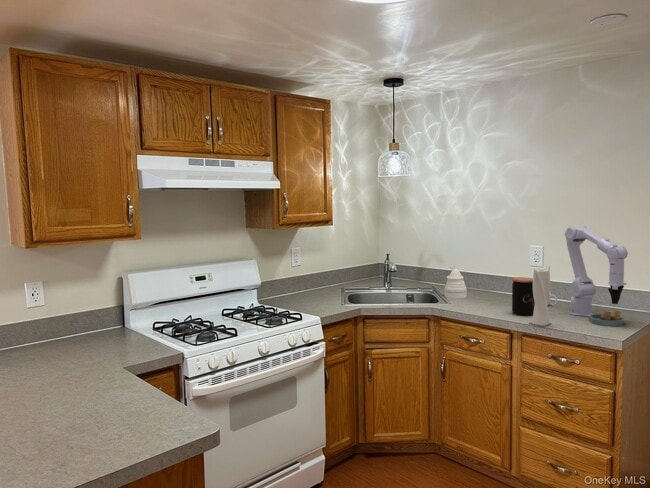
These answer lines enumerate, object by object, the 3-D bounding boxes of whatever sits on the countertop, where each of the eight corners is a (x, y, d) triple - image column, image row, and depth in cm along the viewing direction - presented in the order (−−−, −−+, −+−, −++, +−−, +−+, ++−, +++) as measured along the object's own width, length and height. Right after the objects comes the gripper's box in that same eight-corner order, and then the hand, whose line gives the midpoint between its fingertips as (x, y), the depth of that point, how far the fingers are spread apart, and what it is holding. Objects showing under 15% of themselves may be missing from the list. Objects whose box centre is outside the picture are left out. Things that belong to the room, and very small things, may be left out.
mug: (531, 305, 273) (531, 291, 273) (537, 302, 279) (537, 288, 279) (554, 308, 265) (554, 293, 264) (560, 305, 271) (560, 291, 270)
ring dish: (587, 323, 232) (587, 318, 232) (591, 317, 244) (591, 312, 244) (622, 327, 224) (622, 322, 224) (624, 320, 236) (624, 315, 236)
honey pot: (441, 297, 301) (441, 267, 299) (449, 293, 311) (449, 264, 310) (462, 299, 293) (462, 268, 292) (469, 295, 304) (469, 265, 302)
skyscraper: (554, 324, 232) (555, 265, 230) (544, 327, 228) (545, 266, 225) (537, 321, 239) (538, 263, 236) (527, 324, 234) (528, 265, 232)
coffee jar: (524, 317, 248) (524, 281, 246) (507, 313, 257) (507, 278, 255) (539, 314, 253) (539, 279, 251) (522, 310, 262) (522, 276, 260)
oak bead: (610, 322, 231) (610, 312, 231) (609, 320, 235) (610, 310, 234) (620, 323, 229) (620, 312, 229) (619, 321, 233) (620, 310, 232)
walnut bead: (600, 323, 231) (600, 312, 230) (601, 321, 234) (601, 310, 233) (610, 324, 228) (610, 313, 228) (611, 322, 232) (611, 311, 231)
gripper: (625, 276, 222) (624, 306, 223) (627, 271, 234) (626, 300, 235) (607, 275, 226) (606, 304, 227) (610, 270, 238) (609, 298, 239)
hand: (615, 302), depth 231 cm, fingers open, 7 cm apart
